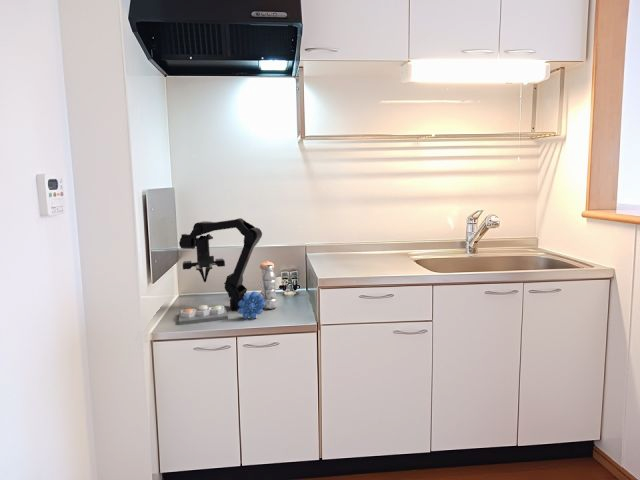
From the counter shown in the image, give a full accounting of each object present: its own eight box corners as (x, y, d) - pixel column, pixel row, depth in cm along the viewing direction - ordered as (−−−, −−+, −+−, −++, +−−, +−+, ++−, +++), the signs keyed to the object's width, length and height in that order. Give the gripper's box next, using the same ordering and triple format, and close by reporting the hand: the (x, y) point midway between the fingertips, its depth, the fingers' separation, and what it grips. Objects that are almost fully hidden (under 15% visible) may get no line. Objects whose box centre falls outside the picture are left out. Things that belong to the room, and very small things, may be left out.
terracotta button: (193, 313, 189) (193, 307, 189) (193, 316, 185) (193, 310, 185) (183, 314, 188) (183, 308, 188) (183, 317, 184) (183, 311, 184)
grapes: (265, 314, 190) (264, 288, 188) (266, 319, 184) (265, 292, 182) (238, 316, 188) (237, 289, 187) (238, 321, 182) (236, 293, 180)
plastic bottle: (265, 311, 195) (264, 267, 192) (261, 307, 201) (259, 265, 198) (279, 309, 198) (277, 266, 195) (274, 305, 204) (273, 263, 201)
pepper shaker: (261, 296, 218) (259, 259, 215) (275, 296, 219) (274, 259, 216) (260, 301, 211) (259, 262, 208) (275, 300, 212) (274, 261, 209)
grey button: (207, 309, 191) (207, 304, 190) (207, 312, 187) (207, 306, 187) (198, 310, 190) (197, 305, 189) (198, 313, 186) (198, 307, 186)
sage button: (221, 310, 193) (221, 305, 192) (222, 312, 189) (221, 307, 189) (212, 311, 192) (212, 306, 191) (212, 313, 188) (212, 308, 187)
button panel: (225, 309, 198) (224, 302, 198) (228, 319, 185) (227, 311, 185) (179, 314, 192) (178, 307, 192) (179, 324, 179) (178, 316, 179)
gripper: (181, 253, 189) (184, 288, 191) (225, 250, 194) (226, 284, 197) (181, 249, 200) (184, 282, 202) (223, 246, 205) (224, 278, 207)
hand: (204, 281), depth 202 cm, fingers closed
